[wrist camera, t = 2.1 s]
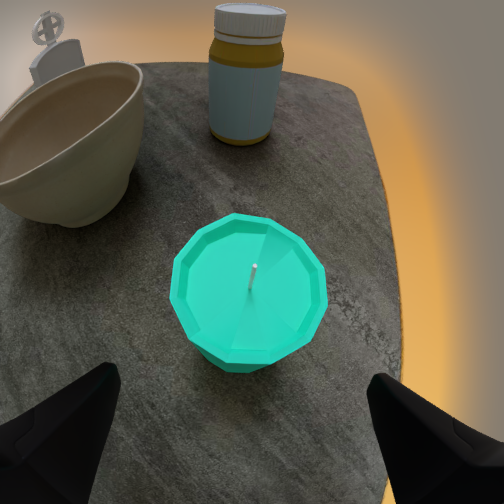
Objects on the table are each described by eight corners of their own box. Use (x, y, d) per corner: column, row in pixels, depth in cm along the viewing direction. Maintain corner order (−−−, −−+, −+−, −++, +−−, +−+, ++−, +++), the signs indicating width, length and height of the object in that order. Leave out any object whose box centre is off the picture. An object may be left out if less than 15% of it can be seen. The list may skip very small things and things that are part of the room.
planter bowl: (188, 150, 27) (180, 59, 17) (108, 286, 20) (35, 208, 10) (84, 132, 28) (60, 65, 18) (9, 232, 21) (-45, 171, 11)
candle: (190, 302, 20) (152, 205, 9) (267, 287, 21) (309, 182, 10) (207, 381, 17) (176, 382, 7) (289, 362, 18) (369, 331, 8)
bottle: (279, 143, 29) (306, 18, 15) (218, 154, 27) (221, 16, 14) (257, 110, 32) (272, 3, 18) (203, 118, 30) (202, 4, 17)
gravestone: (44, 109, 31) (17, 27, 15) (81, 81, 36) (63, 3, 20) (51, 110, 31) (24, 24, 15) (89, 81, 35) (72, 0, 19)
